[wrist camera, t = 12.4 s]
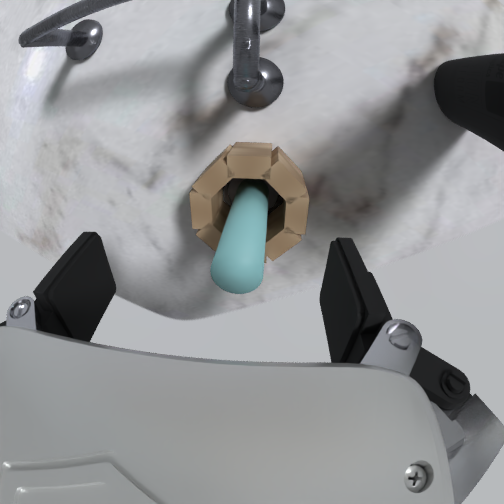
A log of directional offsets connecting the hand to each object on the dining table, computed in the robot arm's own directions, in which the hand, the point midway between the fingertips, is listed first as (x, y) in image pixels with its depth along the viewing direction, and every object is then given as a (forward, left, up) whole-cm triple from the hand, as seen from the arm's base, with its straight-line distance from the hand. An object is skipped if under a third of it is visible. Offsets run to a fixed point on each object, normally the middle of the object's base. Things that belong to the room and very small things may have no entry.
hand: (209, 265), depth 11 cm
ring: (+1, 0, -9) cm, 9 cm away
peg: (+1, 0, -9) cm, 9 cm away
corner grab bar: (-5, +9, -9) cm, 14 cm away
